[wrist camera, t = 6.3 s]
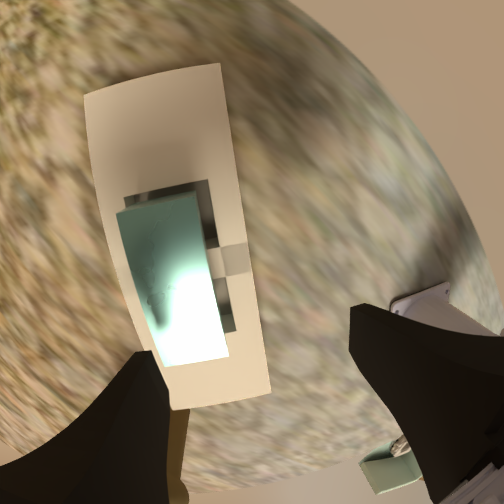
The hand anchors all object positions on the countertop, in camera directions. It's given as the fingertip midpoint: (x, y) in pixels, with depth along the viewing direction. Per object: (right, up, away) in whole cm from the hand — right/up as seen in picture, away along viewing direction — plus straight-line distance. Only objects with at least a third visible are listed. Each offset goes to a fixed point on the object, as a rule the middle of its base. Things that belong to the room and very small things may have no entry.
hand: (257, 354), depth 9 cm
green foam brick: (-4, +4, +6) cm, 8 cm away
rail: (-4, +4, +8) cm, 10 cm away
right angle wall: (+25, -28, +24) cm, 45 cm away
